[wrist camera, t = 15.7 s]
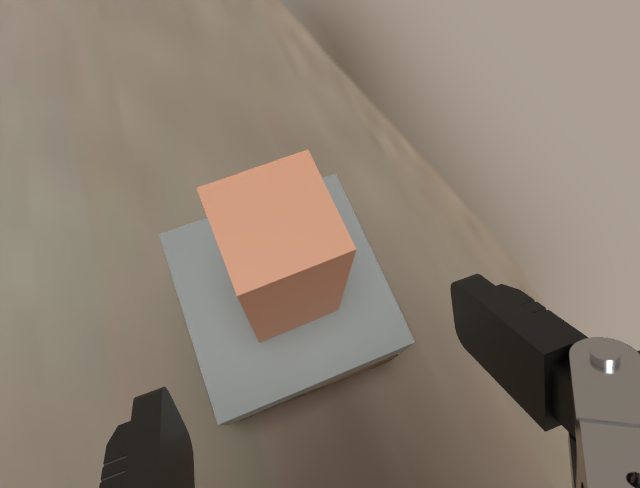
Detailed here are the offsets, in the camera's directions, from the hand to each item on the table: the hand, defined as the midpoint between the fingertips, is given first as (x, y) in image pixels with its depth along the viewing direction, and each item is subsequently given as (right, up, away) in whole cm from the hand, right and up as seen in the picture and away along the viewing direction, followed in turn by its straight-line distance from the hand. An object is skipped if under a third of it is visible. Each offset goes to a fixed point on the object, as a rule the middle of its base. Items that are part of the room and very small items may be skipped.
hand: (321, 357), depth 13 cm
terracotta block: (-2, 0, +16) cm, 16 cm away
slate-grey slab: (-2, -1, +20) cm, 20 cm away
